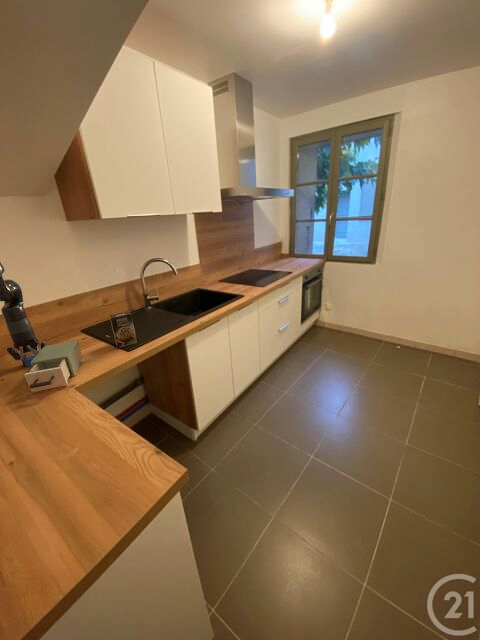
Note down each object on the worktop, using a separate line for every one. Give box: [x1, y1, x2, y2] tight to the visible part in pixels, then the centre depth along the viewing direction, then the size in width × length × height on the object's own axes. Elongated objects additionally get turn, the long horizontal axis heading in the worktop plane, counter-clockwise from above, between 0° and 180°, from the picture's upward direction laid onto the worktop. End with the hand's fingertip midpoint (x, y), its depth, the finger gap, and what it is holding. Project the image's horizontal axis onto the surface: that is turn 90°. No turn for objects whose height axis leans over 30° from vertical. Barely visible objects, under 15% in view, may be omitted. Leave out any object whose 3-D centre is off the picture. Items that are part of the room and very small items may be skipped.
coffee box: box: [108, 310, 138, 349], centre depth 124 cm, size 9×6×16 cm
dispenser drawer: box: [23, 358, 71, 393], centre depth 97 cm, size 18×11×7 cm, turn 18°
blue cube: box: [24, 354, 36, 368], centre depth 112 cm, size 4×4×4 cm
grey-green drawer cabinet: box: [30, 340, 84, 378], centre depth 106 cm, size 15×13×9 cm
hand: (34, 365), depth 113 cm, fingers closed on blue cube, 4 cm apart
